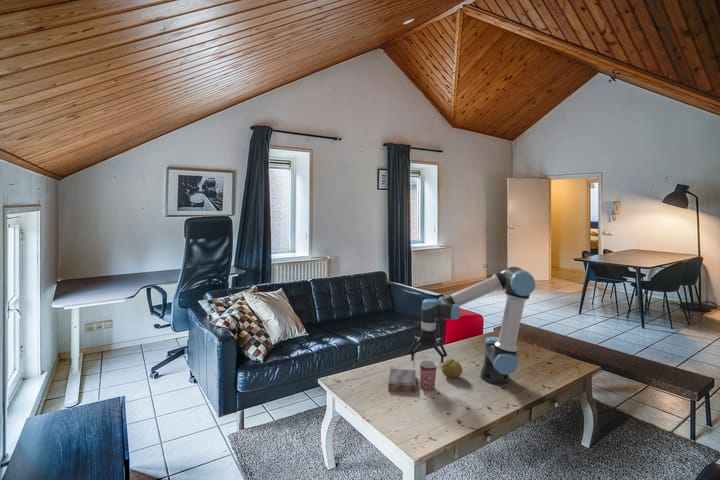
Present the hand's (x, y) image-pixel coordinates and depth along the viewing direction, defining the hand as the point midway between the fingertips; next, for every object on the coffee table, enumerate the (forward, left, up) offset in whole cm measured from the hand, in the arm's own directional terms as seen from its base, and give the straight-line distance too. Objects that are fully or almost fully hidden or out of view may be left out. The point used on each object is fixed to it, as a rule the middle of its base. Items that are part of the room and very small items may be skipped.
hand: (426, 367), depth 205 cm
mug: (0, 0, -11) cm, 11 cm away
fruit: (-14, -13, -11) cm, 22 cm away
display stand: (+13, -1, -11) cm, 17 cm away
